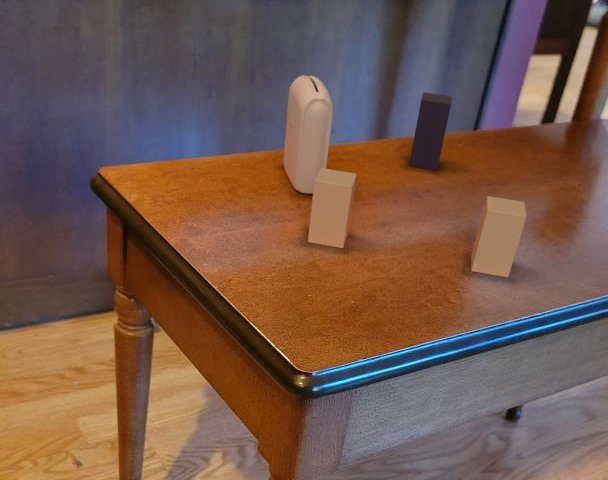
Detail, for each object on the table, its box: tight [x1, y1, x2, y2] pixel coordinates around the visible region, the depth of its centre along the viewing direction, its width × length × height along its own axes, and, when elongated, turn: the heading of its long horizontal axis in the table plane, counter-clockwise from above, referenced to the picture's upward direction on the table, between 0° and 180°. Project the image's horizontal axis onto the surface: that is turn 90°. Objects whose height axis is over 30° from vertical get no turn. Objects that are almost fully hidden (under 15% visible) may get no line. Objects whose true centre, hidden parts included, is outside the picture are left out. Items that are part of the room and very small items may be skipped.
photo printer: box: [283, 75, 334, 195], centre depth 92 cm, size 10×4×12 cm, turn 11°
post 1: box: [307, 168, 358, 249], centre depth 80 cm, size 4×4×7 cm
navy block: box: [408, 91, 453, 171], centre depth 103 cm, size 4×4×9 cm
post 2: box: [470, 195, 527, 279], centre depth 79 cm, size 4×4×7 cm
